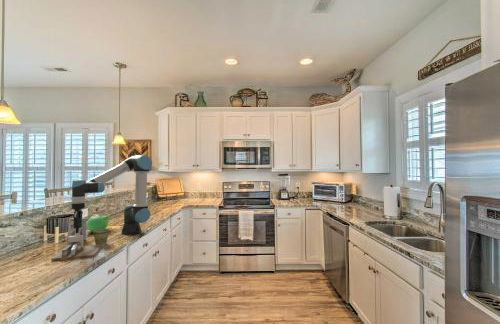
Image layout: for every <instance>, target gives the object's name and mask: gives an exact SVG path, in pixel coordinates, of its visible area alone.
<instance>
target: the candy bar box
mask: <svg viewBox="0 0 500 324" xmlns="http://www.w3.org/2000/svg"><path fill="white" fill-rule="evenodd" d="M67 221H68V222H67V237H68V236H75V229H74V219H73V217H70V218H67ZM81 226H82V227H80V235H83V242H84V241H86V240H87V218H86V217H82V224H81Z"/></svg>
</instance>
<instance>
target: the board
mask: <svg viewBox="0 0 500 324" xmlns="http://www.w3.org/2000/svg"><path fill="white" fill-rule="evenodd" d="M74 244H78V242H71V243H70V244H69V245H68V246H67V245H66V246H65V247H63V248H62V249H61V250H60V251H59V252H57V254H55V255H54V256H53V257H52V258H50V259H51V260H50V261H51V262H57V261H58V262H59V261H70V260H78V259H79V260H81V259H82V260H83V259H91V258H92V257H93V258H95V257H96V256H97V254H98V253H99V252H100V250H101V249H102V247H103V246H102V245H96V244H95V245H86V246H84V245H83V247H82V248H81V246H78V250H77V252H76V254H75V255H73V256H71V249H72V247H73V245H74Z"/></svg>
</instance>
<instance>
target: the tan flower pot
mask: <svg viewBox="0 0 500 324" xmlns="http://www.w3.org/2000/svg"><path fill="white" fill-rule="evenodd" d="M110 232H111V230H110V229H109V228H105V229H98V230H94V231H92V233H93V238H94V243H95V246H96V245H102V247H103V246H106V245H107V242H108V237H109V233H110Z"/></svg>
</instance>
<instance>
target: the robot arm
mask: <svg viewBox="0 0 500 324" xmlns="http://www.w3.org/2000/svg"><path fill="white" fill-rule="evenodd" d="M152 166H153V160H152V158H151V157H150V156H149V155H145V154H138V155H137V154H134V155H133V156H130V157H128V158H127V159H125V160H123V161H121V163H120V164H118V165H116V166H114V167H112V168H110V169H107V170H106V171H104V172H102V173H100V174H98V175H96V176H95V177H92V178H91V179H89V180H85V179H74V180H72V183H71V198H70V200H71V209H72V210H74V211H73V214H72V218H73V219H74V229H75V236H76V235H80V227H82V226H81V224H82V218H83V213H84V212H83V210H82V209H85V207H86V203H85V202H86V194H100V193H103V192H104V191H105V184H106V183H108V182H110V181H112V180H114V179H115V178H117V177H119V176H121V175H123V174H124V173H126V172H128V173H129V172H131V171H133V172H134V173H135V184H134V185H135V188H134V189H135V192H134V204H129V205H125V206H124V209H123V226H122V229H121V234H122V235H124V236H127V235H128V236H131V235H137V234H140V233H142V226H141V224H143V223H144V224H145V223H146V222H147V221H148V220H150V218H151V210H149V204H148V203H147V194H148V193H147V191H148V190H147V189H148V174H149V172H150V169H151V167H152Z"/></svg>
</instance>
